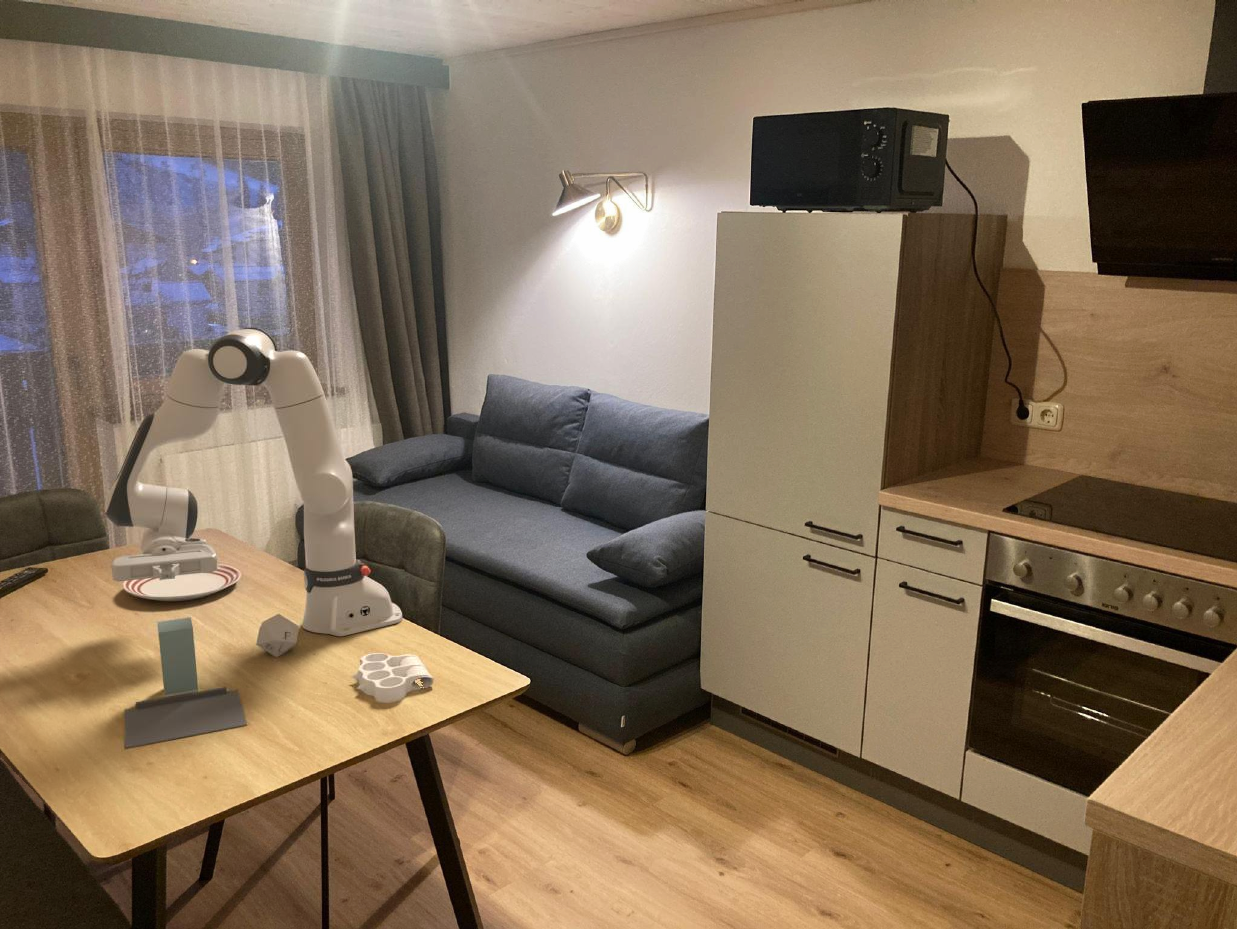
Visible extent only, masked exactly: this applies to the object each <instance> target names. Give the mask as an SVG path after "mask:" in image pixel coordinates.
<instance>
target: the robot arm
mask: <svg viewBox="0 0 1237 929" xmlns="http://www.w3.org/2000/svg"><path fill="white" fill-rule="evenodd" d="M277 346H278V345H277V343H276V341H275V339H274V338H273V337H272V335H271V334H269V333H268V332H267V331H265V330H263V329H261V328H258V327H244V328H242V329H236V330H232V331H230V332H228V333H227V334H225V335H222V336H221V337H219V338H218V339H216V340H215V341H214V343H213V344H212V345H211V347H210V349H209V350H208V349H202V348H193V349H189V350H185V351H183V353H181V354H180V355H179V357H178V359H177V361H176V363H175V366H174V367H173V370H172V374H171V377H170V379H169V382H168V386H167V389H166V394H165V398H164V401H163V402H162V404H161V405H160V407H158V409H157V410H156V411H155V412H151V413H149V414H147V415H145V416H144V418H143V420H142V421H141V423H140V425H139V426H138V429H137V431H136V434H135V435H134V437H133V440H132V442H131V444H130V447H129V449H128V452H127V454H126V456H125V459H124V461H123V462H122V463H123V464H122V466H121V468H120V470H119V473H118V475H117V477H116V479H115V481H114V483H113V485H112V486H111V488H110V489H109V491H108V493H107V495H106V497H105V501H104V514H105V516H106V517H107V519H108V520H109V521H110V522H112V524H114V525H115V526H117V527H123V528H125V527H126V528H133V527H135V528H136V527H138V528H143V529H145V530H144V533H143V534H142V536H141V540H140V552H141V553H136V554H125V555H119V556H117V557H116V558H115V559H114V560H113V561H111V562H110V565H109V566H110V568H111V573H112V574H111V575H112V576H111V577H112V580H113V581H114V582H124V581H129V580H138V579H148V578H159V580H166V579H175V576H177V575H186V574H196V573H206V572H214V571H216V570H217V564H218V556H217V552H216V551H215V549H214V548H213V547H212V546H211V545H208V543H207V540H206V539H204V538H190V537H191V536H193V534H194V532H195V529H196V526H197V523H198V513H199V511H198V508H199V507H198V501H197V498H196V497H195V495H194V494H193V492H192V491H191V490H190V489H186V488H179V487H175V486H164V485H155V484H150V483H142V482H141V481H139V480H140V477H141V476H142V472H143V470H144V468H145V465H146V464H147V461H148V459H149V456H150V454H151V453H152V452H153V451H154V450H155V449H156V448H158V447H161V446H165V445H168V444H171V443H173V444H174V443H177V442H179V443H180V442H187V441H191V440H194V439H197V438H199V437H202V436H204V435H205V434H207V433H208V432H209V431H211V430H212V429H213V427H214V426H215V424H216V421H217V418H218V417H219V416H218V415H219V413H220V409H221V404H222V400H223V394H224V392H225V388H226V386H227V384H229V385H233V386H234V385H235V386H255V387H257V386H261V385H263V386H264V387H265V388H266V390H267V392H268V394H269V396H270V399H271V402H272V406H273V409H274V413H275V414H276V418H277V421H278V424H279V426H280V429H281V432H282V435H283V438H284V439H283V440H284V442H285V444H286V449H287V453H288V457H289V461H290V465H291V469H292V473H293V476H294V480H295V483H296V488H297V490H298V493H299V497H300V500H301V501H302V503H303V539H304V554H305V555H304V556H305V558H304V559H305V565H304V566H303V567H304V568H303V570H304V572H303V580H304V581H303V582H304V588H305V591H306V595H305V596H306V599H305V607H304V608H305V609H304V615H303V619H302V623H301V626H302V628H303V629H305V630H306V631H309V632H311V633H312V632H313V633H315V634H316V633H317V634H329V635H333V636H335V637H344V636H349V635H352V634H356V633H358V634H359V633H363V632H365V631H369V630H373V629H374V630H375V629H379V628H382V627H386V626H390V625H394V624H398V623H400V622H401V621H402V619H403V613H402V610H401V608H400V607H399V606H398V605H397V604H396V603H394V602H392V598H391V596H390V593H389V592H388V590H387V589H386V588H385V587H384V586H383V585H382V584H381V583H379V582H377V581H376V580H374V579H372V578H370V577H368V576H369V575H370V574H371V572H372V571H371V569H370V568H369V566H367V565H366V564H365V563H363V562H362V561H360V560H359V559H356V558H357V557H356V542H355V541H356V540H355V539H356V536H355V515H354V513H355V510H354V508H355V507H354V486H353V485H354V482H353V480H354V479H353V471H352V468H351V465H350V463H349V462H348V461H347V460H346V459H345V458H344V456H343V453H342V448H341V446H340V442H339V441H340V440H339V438H338V433H337V430H336V425H335V422H334V419H333V417H332V413H331V410H330V408H329V404H328V401H327V398H326V395H325V392H324V389H323V386H322V384H321V381H320V378H319V376H318V374H317V372H316V370H315V368H314V366H313V364H312V362H311V360H310V359H309V358H308V356H307V355H306V354H305V353H303V352H302V351H298V350H289V349H288V350H283V351H278V347H277Z"/></svg>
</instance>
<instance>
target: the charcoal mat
mask: <svg viewBox="0 0 1237 929" xmlns="http://www.w3.org/2000/svg"><path fill="white" fill-rule="evenodd" d="M245 726H248V723H247V720H246V715H245V713H244V709H243V705H242V702H241V697H240V693H239V690H238V689H232V690H228V689H227V686H222V687H216V688H211V689H205V690H200V691H199V690H198V692H192V693H186V694H181V695H175V696H169V697H165V696H164V697H159V698H151V699H146V700H143V701H136V702H135V707H130V708H125V709H124V743H125V744H124V748H125V749H126V750H127V749H132V748H136V747H142V746H146V745H151V744H153V745H154V744H157V743H162V742H167V741H172V740H173V741H174V740H177V739H184V738H189V737H194V736H199V735H204V734H209V733H214V732H219V731H224V730H231V729H236V728H240V727H245Z"/></svg>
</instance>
